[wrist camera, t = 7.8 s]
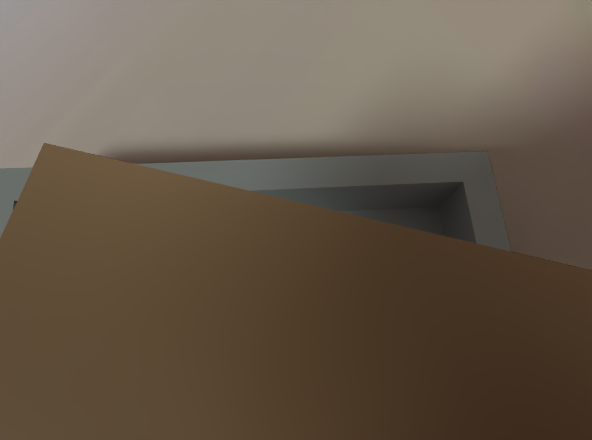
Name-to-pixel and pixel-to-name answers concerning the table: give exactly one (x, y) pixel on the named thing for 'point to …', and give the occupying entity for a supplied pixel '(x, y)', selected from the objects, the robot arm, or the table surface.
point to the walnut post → (271, 319)
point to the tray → (355, 189)
